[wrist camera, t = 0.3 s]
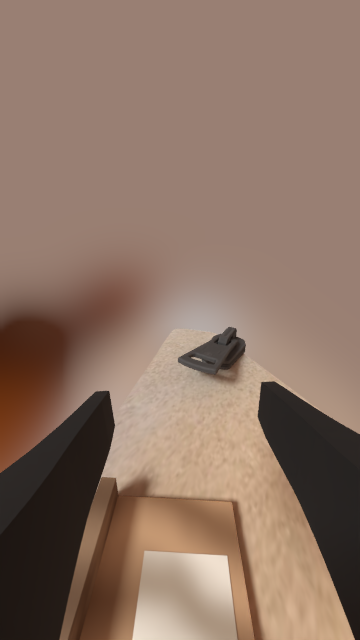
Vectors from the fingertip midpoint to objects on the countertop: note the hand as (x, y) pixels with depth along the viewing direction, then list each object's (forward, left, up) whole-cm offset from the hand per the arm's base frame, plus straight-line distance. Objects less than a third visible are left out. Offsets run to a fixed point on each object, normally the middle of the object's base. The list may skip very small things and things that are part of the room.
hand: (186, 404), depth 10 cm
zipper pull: (+35, -8, -21) cm, 42 cm away
